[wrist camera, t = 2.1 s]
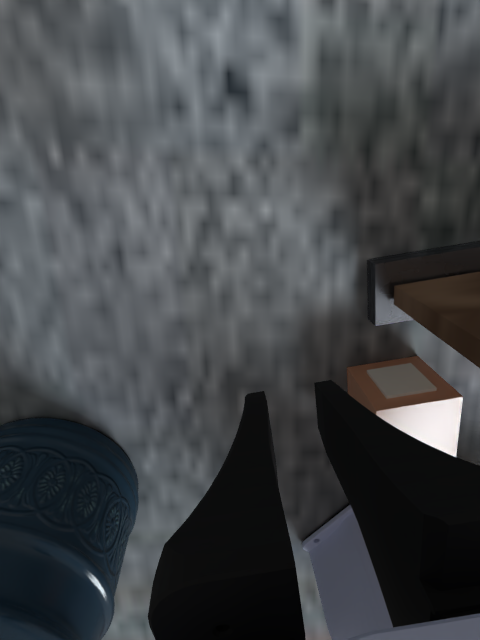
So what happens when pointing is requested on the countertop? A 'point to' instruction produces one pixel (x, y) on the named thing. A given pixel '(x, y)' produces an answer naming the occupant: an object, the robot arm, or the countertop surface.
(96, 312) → the countertop surface
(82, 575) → the canister
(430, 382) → the cube
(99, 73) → the countertop surface
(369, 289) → the rail
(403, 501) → the robot arm
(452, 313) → the panel
